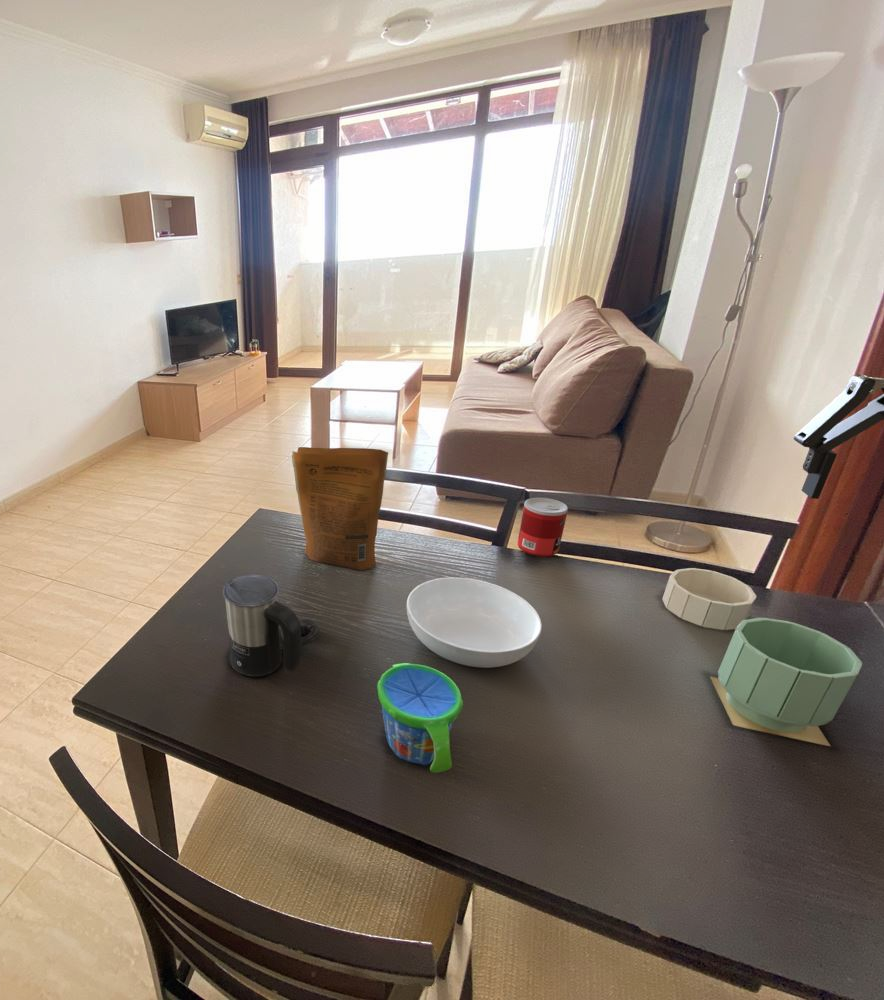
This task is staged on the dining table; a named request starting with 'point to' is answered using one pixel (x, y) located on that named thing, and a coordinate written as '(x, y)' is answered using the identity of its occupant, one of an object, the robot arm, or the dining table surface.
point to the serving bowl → (473, 621)
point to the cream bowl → (708, 598)
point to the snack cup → (419, 713)
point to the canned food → (542, 526)
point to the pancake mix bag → (340, 503)
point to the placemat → (808, 734)
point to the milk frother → (263, 627)
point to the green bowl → (786, 674)
